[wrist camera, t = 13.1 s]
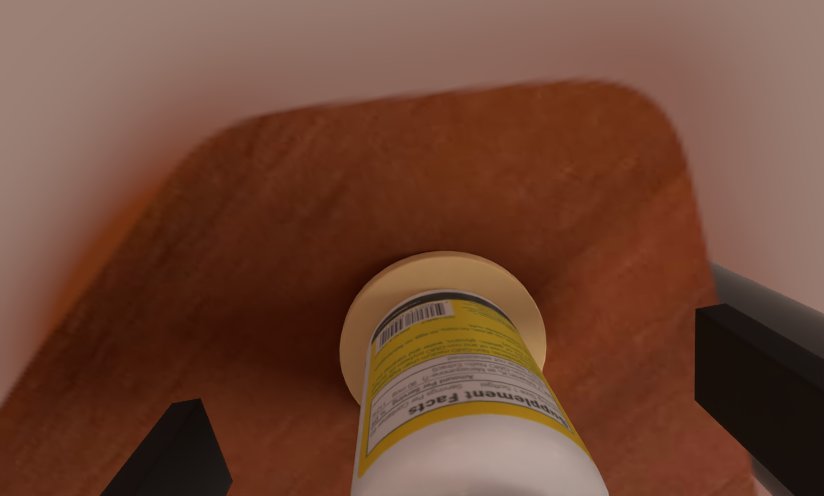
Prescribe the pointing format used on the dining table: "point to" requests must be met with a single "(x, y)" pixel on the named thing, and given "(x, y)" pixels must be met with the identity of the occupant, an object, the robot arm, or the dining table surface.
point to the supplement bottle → (462, 409)
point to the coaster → (434, 275)
